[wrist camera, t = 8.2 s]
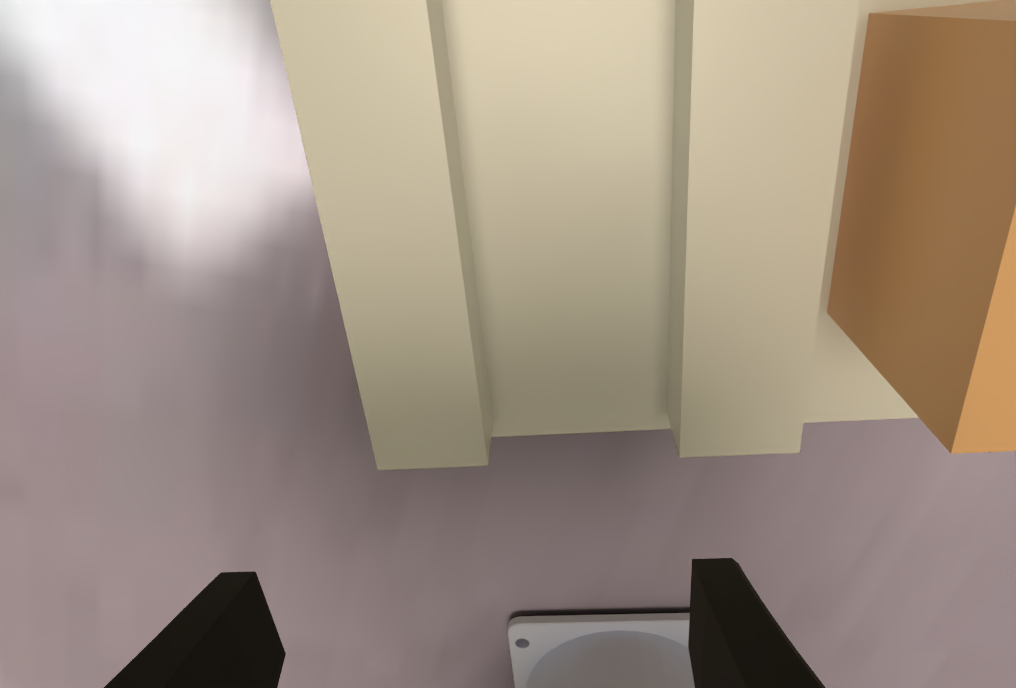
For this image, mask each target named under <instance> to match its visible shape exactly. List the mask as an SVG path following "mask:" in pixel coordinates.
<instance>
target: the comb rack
mask: <svg viewBox="0 0 1016 688" xmlns="http://www.w3.org/2000/svg"><path fill="white" fill-rule="evenodd" d="M988 1H998V0H270V2H271V6H272V11H273V15H274V20H275V24H276V28H277V33H278V37H279V41H280V46H281V50H282V55H283V59H284V63H285V68H286V72H287V76H288V81H289V85H290V90H291V94H292V98H293V103H294V107H295V111H296V116H297V120H298V125H299V129H300V133H301V138H302V142H303V146H304V151H305V155H306V159H307V164H308V168H309V173H310V177H311V181H312V186H313V190H314V194H315V199H316V203H317V208H318V212H319V216H320V221H321V225H322V229H323V234H324V238H325V243H326V247H327V251H328V256H329V260H330V264H331V269H332V273H333V278H334V282H335V286H336V291H337V295H338V299H339V304H340V308H341V312H342V317H343V321H344V326H345V330H346V334H347V339H348V343H349V347H350V352H351V356H352V361H353V365H354V369H355V374H356V378H357V382H358V387H359V391H360V396H361V400H362V404H363V409H364V413H365V417H366V422H367V426H368V431H369V435H370V439H371V444H372V448H373V452H374V457H375V461H376V466H377V470H396V469H420V468H444V467H468V466H488V462H489V454H490V446H491V438H492V437H504V436H526V435H548V434H570V433H592V432H614V431H635V430H657V429H672V433H673V436H674V440H675V443H676V447H677V450H678V454H679V457H680V458H683V457H707V456H731V455H754V454H778V453H800V446H801V438H802V431H803V423H810V422H832V421H854V420H876V419H898V418H919V417H918V416H917V414H916V413H915V412H914V411H913V410H912V409H911V408H910V407H909V405H908V404H907V403H906V402H905V401H904V400H903V399H902V397H901V396H900V395H899V394H898V393H897V392H896V391H895V390H894V388H893V387H892V386H891V385H890V384H889V383H888V382H887V380H886V379H885V378H884V377H883V376H882V375H881V374H880V373H879V371H878V370H877V369H876V368H875V367H874V366H873V365H872V363H871V362H870V361H869V360H868V359H867V358H866V357H865V355H864V354H863V353H862V352H861V351H860V350H859V349H858V348H857V346H856V345H855V344H854V343H853V342H852V341H851V340H850V338H849V337H848V336H847V335H846V334H845V333H844V332H843V331H842V329H841V328H840V327H839V326H838V325H837V324H836V323H835V321H834V320H833V319H832V318H831V317H830V316H829V315H828V314H827V309H828V302H829V295H830V288H831V280H832V273H833V266H834V259H835V252H836V245H837V237H838V230H839V223H840V216H841V209H842V202H843V194H844V187H845V180H846V173H847V166H848V159H849V151H850V144H851V137H852V130H853V123H854V116H855V108H856V101H857V94H858V87H859V80H860V73H861V65H862V58H863V51H864V44H865V37H866V30H867V22H868V15H869V13H876V12H886V11H896V10H906V9H917V8H927V7H937V6H947V5H957V4H967V3H978V2H988Z"/></svg>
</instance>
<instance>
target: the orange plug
mask: <svg viewBox="0 0 1016 688" xmlns="http://www.w3.org/2000/svg"><path fill="white" fill-rule="evenodd" d="M827 314H828V315H829V316H830V317H831V318H832V319H833V320H834V321H835V323H836V324H837V325H838V326H839V327H840V328H841V329H842V331H843V332H844V333H845V334H846V335H847V336H848V337H849V338H850V340H851V341H852V342H853V343H854V344H855V345H856V346H857V348H858V349H859V350H860V351H861V352H862V353H863V354H864V355H865V357H866V358H867V359H868V360H869V361H870V362H871V363H872V365H873V366H874V367H875V368H876V369H877V370H878V371H879V373H880V374H881V375H882V376H883V377H884V378H885V379H886V380H887V382H888V383H889V384H890V385H891V386H892V387H893V388H894V390H895V391H896V392H897V393H898V394H899V395H900V396H901V397H902V399H903V400H904V401H905V402H906V403H907V404H908V405H909V407H910V408H911V409H912V410H913V411H914V412H915V413H916V414H917V416H918V417H919V418H920V419H921V420H922V421H923V422H924V424H925V425H926V426H927V427H928V428H929V429H930V430H931V431H932V433H933V434H934V435H935V436H936V437H937V438H938V439H939V441H940V442H941V443H942V444H943V445H944V446H945V447H946V448H947V450H948V451H949V452H950V453H976V452H1000V451H1016V0H998V1H988V2H978V3H967V4H957V5H947V6H937V7H927V8H917V9H906V10H896V11H886V12H876V13H869V15H868V22H867V30H866V37H865V44H864V51H863V58H862V65H861V73H860V80H859V87H858V94H857V101H856V108H855V116H854V123H853V130H852V137H851V144H850V151H849V159H848V166H847V173H846V180H845V187H844V194H843V202H842V209H841V216H840V223H839V230H838V237H837V245H836V252H835V259H834V266H833V273H832V280H831V288H830V295H829V302H828V309H827Z"/></svg>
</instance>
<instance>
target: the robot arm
mask: <svg viewBox="0 0 1016 688" xmlns="http://www.w3.org/2000/svg"><path fill="white" fill-rule="evenodd" d="M521 638H522V639H521ZM508 640H509V648H510V655H511V662H512V670H513V677H514V685H515V688H825V686H824V685H823V684H822V683H821V681H820V680H819V679H818V677H817V676H816V675H815V673H814V672H813V671H812V670H811V668H810V667H809V666H808V664H807V663H806V662H805V660H804V659H803V658H802V657H801V655H800V654H799V653H798V651H797V650H796V649H795V647H794V646H793V644H792V643H791V642H790V640H789V639H788V638H787V636H786V635H785V633H784V632H783V631H782V629H781V628H780V626H779V625H778V623H777V622H776V621H775V619H774V618H773V616H772V615H771V613H770V612H769V611H768V609H767V608H766V606H765V605H764V603H763V602H762V600H761V599H760V597H759V596H758V594H757V593H756V591H755V590H754V588H753V586H752V585H751V583H750V582H749V580H748V579H747V577H746V575H745V574H744V572H743V571H742V569H741V567H740V565H739V564H738V563H737V562H736V561H735V560H733V559H732V558H718V559H692V576H691V597H690V613H654V614H607V615H560V616H520V617H515V618H513V619H511V620H510V621H509V623H508ZM284 658H285V651H284V648H283V645H282V643H281V640H280V637H279V634H278V632H277V629H276V626H275V624H274V621H273V618H272V615H271V613H270V610H269V607H268V604H267V602H266V599H265V596H264V593H263V591H262V588H261V585H260V583H259V580H258V577H257V574H256V572H225V573H220V574H219V575H218V576H217V577H216V578H215V579H214V580H213V581H212V582H211V583H210V584H209V585H208V586H207V587H205V588H204V589H203V590H202V591H201V592H200V593H199V594H198V595H197V596H196V597H195V598H194V599H193V600H192V601H191V602H190V603H189V604H188V605H187V606H186V607H185V608H184V609H183V610H182V611H181V612H180V613H179V614H178V615H177V616H176V617H175V618H174V619H173V620H172V621H171V622H170V623H169V624H168V625H167V626H166V627H165V628H164V629H163V630H162V631H161V632H160V633H159V634H158V635H157V636H156V637H155V638H154V639H153V640H152V641H151V642H150V643H149V644H148V645H147V646H146V647H145V648H144V649H143V650H142V651H141V652H140V653H139V654H138V655H137V656H136V657H135V658H134V659H133V660H132V661H131V662H130V663H129V664H128V665H127V666H126V667H125V668H124V669H123V670H122V671H121V672H119V673H118V674H117V675H116V676H115V677H114V678H113V679H112V680H111V681H110V682H109V683H108V684H107V685H106V686H105V687H104V688H277V686H278V682H279V678H280V674H281V670H282V666H283V662H284Z"/></svg>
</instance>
